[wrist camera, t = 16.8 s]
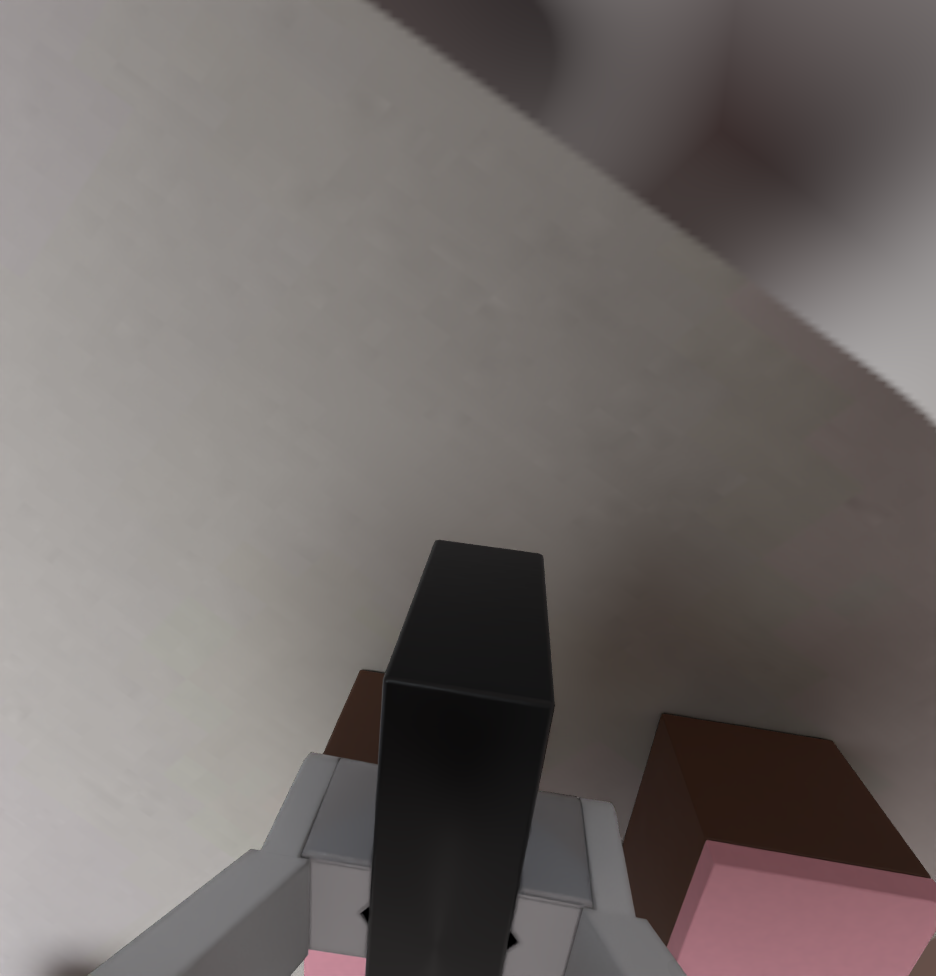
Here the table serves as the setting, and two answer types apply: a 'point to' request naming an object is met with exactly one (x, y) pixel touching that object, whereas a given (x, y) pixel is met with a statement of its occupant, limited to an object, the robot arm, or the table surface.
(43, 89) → the table surface
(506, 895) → the knife
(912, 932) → the cake
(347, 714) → the cake slice
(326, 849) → the robot arm
